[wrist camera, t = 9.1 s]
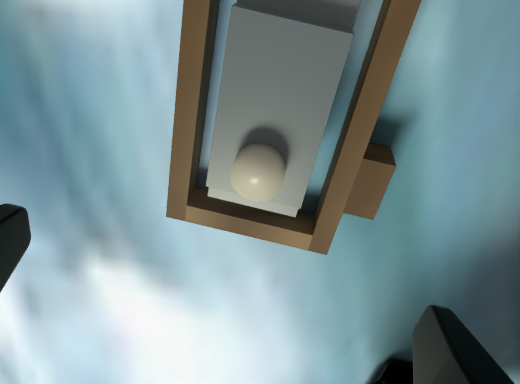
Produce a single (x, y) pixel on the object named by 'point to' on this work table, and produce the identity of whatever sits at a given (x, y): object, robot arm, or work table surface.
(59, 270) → the work table surface
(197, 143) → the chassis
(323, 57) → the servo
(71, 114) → the work table surface
